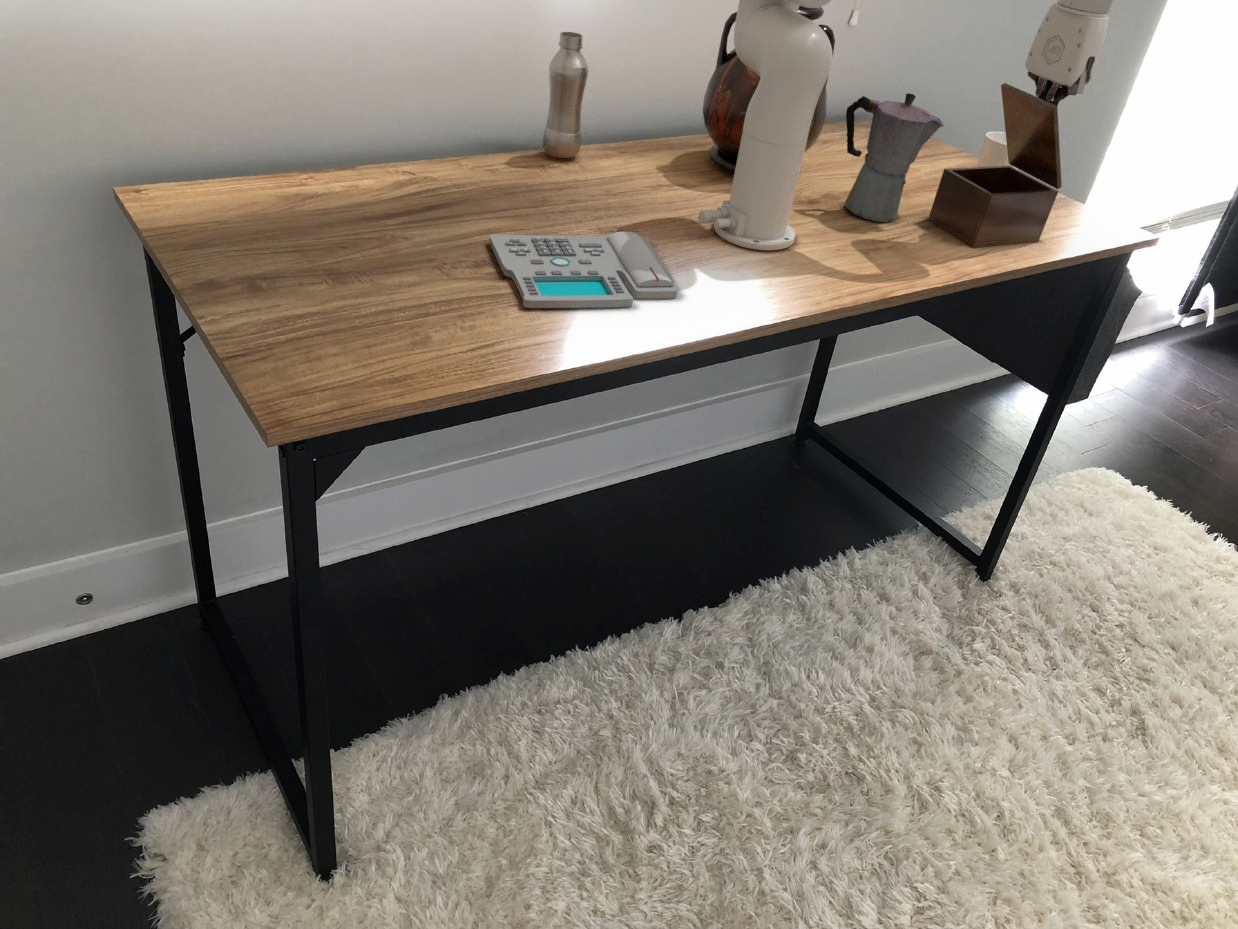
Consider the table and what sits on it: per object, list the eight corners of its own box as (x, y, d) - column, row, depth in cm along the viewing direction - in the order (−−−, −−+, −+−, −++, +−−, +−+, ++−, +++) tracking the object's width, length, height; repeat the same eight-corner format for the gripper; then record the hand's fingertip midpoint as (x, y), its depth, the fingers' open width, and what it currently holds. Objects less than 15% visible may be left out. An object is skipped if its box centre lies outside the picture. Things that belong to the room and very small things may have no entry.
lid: (1053, 108, 148) (1057, 105, 148) (1000, 85, 156) (1004, 82, 156) (1057, 189, 159) (1061, 187, 159) (1008, 163, 167) (1012, 161, 167)
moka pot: (914, 231, 161) (953, 108, 149) (822, 213, 163) (853, 90, 151) (912, 211, 169) (948, 92, 157) (824, 194, 170) (853, 76, 159)
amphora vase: (810, 158, 185) (848, -1, 169) (811, 198, 168) (854, 25, 152) (698, 139, 186) (725, -21, 170) (688, 177, 169) (717, 3, 153)
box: (973, 247, 159) (991, 195, 153) (927, 218, 167) (944, 168, 162) (1038, 241, 164) (1058, 191, 159) (991, 214, 173) (1009, 165, 167)
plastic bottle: (537, 149, 171) (546, 28, 160) (574, 149, 173) (585, 30, 162) (546, 162, 167) (556, 38, 155) (584, 162, 169) (596, 40, 157)
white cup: (1019, 199, 181) (1039, 146, 175) (985, 200, 178) (1005, 146, 172) (992, 183, 186) (1010, 131, 180) (959, 184, 184) (977, 131, 178)
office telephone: (646, 226, 143) (692, 289, 128) (644, 243, 144) (688, 307, 129) (489, 225, 136) (518, 291, 121) (488, 242, 138) (516, 310, 122)
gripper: (1031, -12, 150) (990, 109, 160) (1105, 12, 139) (1056, 140, 150) (1066, -10, 153) (1023, 108, 163) (1141, 14, 142) (1090, 139, 153)
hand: (1039, 123), depth 157 cm, fingers closed
